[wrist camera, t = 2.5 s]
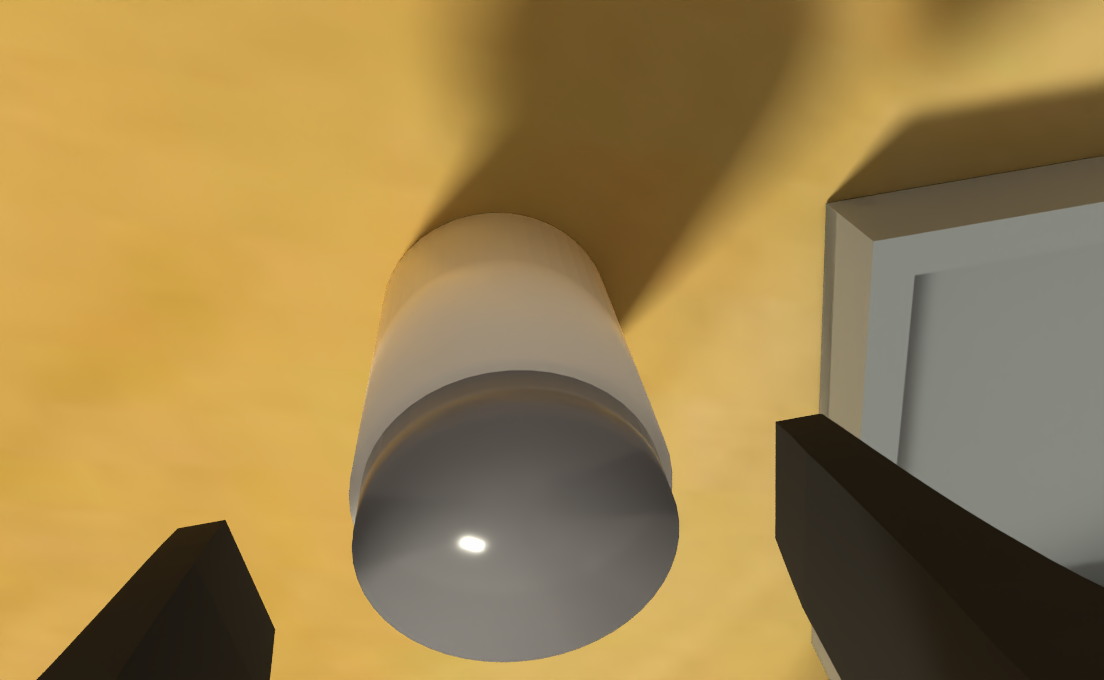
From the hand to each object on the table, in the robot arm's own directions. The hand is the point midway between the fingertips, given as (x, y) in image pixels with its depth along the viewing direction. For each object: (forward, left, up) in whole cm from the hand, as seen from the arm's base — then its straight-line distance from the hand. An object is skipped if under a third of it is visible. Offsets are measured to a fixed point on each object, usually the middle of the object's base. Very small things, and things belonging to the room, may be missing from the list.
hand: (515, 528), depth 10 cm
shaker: (0, 0, -6) cm, 6 cm away
